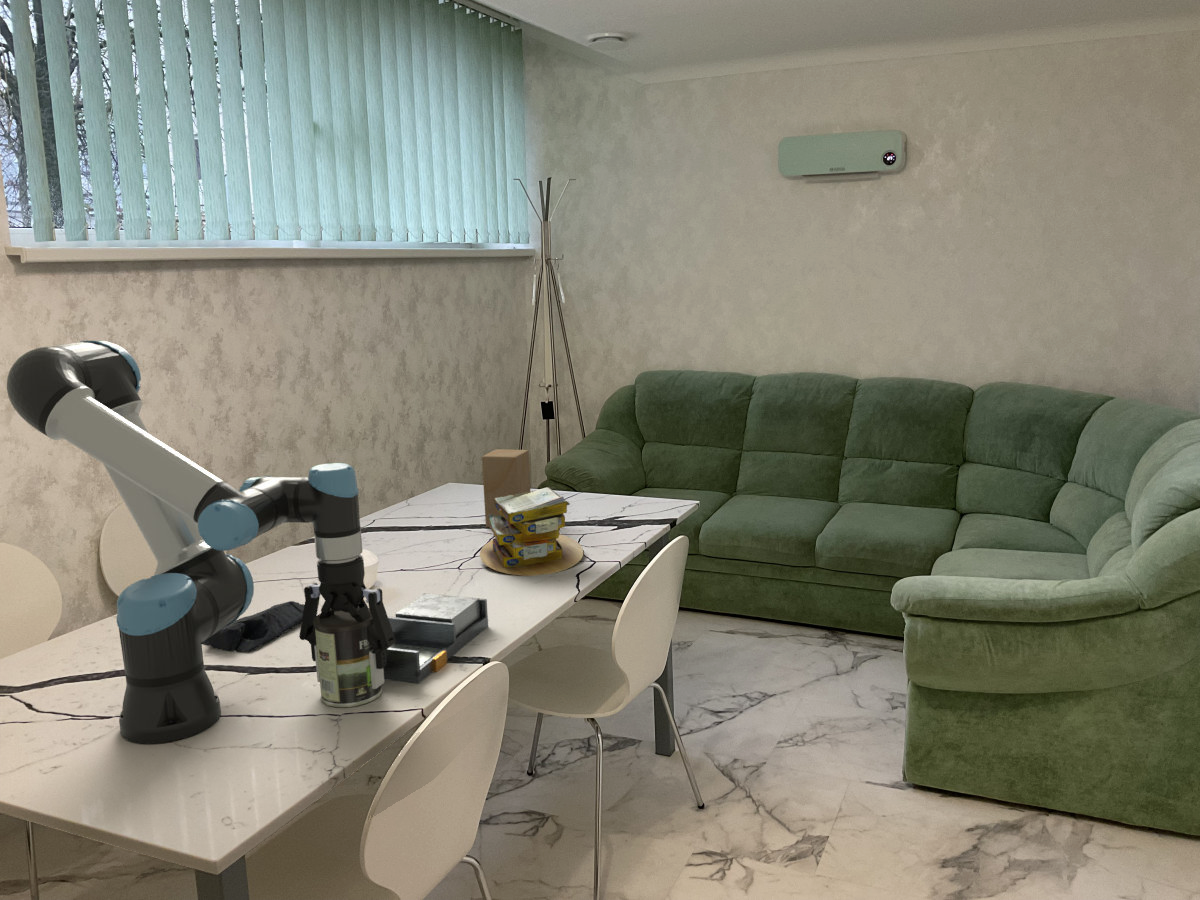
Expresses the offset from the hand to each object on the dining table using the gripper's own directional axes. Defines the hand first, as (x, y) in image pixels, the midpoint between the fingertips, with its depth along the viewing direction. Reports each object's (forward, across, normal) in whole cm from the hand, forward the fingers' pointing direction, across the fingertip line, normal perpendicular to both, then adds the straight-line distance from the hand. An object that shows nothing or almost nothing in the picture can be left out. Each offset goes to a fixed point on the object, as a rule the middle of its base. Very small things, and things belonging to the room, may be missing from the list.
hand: (350, 682), depth 171 cm
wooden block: (+3, +19, -107) cm, 109 cm away
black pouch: (+3, +36, -22) cm, 42 cm away
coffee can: (+3, 0, 0) cm, 3 cm away
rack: (+2, -2, -21) cm, 21 cm away
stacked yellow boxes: (+3, 0, -78) cm, 78 cm away
